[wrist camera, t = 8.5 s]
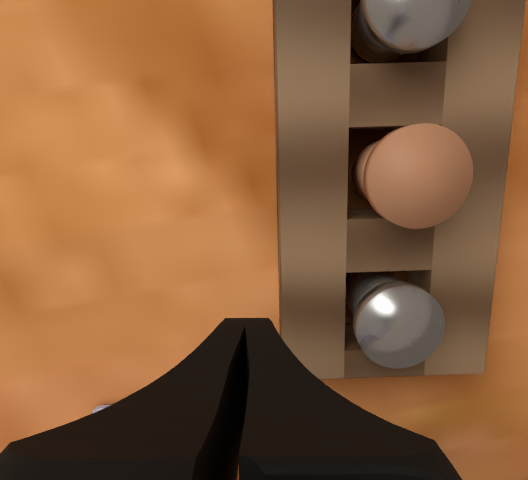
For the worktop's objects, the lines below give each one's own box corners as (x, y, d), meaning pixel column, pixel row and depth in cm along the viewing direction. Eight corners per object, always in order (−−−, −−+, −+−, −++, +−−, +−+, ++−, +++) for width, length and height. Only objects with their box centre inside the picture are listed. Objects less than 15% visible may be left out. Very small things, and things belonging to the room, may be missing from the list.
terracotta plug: (420, 210, 19) (468, 227, 14) (342, 212, 19) (367, 230, 14) (425, 128, 18) (477, 121, 14) (343, 131, 18) (370, 124, 14)
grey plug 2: (404, 323, 21) (441, 367, 17) (336, 325, 21) (355, 370, 17) (408, 257, 20) (448, 285, 16) (337, 259, 20) (358, 288, 16)
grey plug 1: (419, 71, 18) (468, 47, 14) (339, 73, 18) (364, 49, 14) (424, -19, 17) (478, -74, 13) (341, -16, 17) (367, -71, 13)
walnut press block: (454, 344, 22) (484, 373, 19) (280, 350, 22) (283, 380, 19) (489, -55, 18) (536, -97, 15) (271, -50, 18) (274, -90, 15)
